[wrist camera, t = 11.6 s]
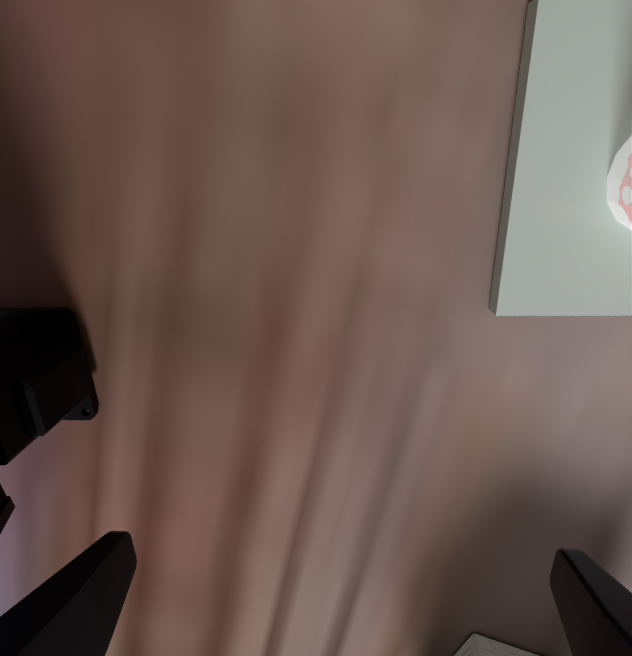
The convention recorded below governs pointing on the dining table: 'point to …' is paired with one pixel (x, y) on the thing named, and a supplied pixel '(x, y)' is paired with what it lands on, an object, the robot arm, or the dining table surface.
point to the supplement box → (489, 648)
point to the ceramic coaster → (567, 165)
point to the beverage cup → (621, 185)
